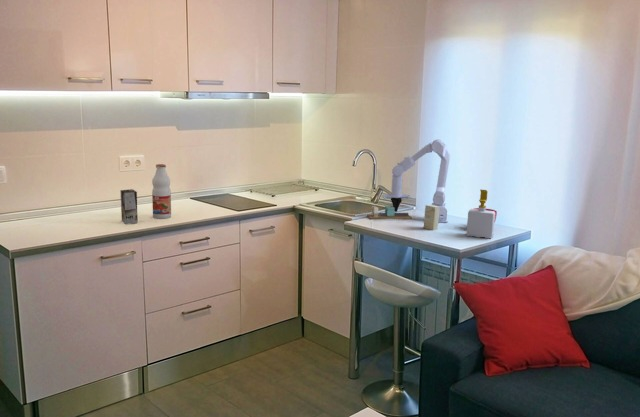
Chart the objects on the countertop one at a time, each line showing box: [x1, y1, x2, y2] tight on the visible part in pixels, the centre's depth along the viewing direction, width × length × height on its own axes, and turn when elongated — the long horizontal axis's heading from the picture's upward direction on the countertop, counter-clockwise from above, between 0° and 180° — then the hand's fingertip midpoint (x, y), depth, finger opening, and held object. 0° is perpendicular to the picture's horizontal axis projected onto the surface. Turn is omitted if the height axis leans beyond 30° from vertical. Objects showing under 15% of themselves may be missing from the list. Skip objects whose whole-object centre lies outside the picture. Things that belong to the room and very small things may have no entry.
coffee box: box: [120, 188, 139, 225], centre depth 295 cm, size 9×6×16 cm
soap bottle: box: [465, 189, 496, 239], centre depth 286 cm, size 12×7×23 cm, turn 66°
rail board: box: [366, 205, 413, 220], centre depth 325 cm, size 9×24×6 cm, turn 100°
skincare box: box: [423, 204, 440, 231], centre depth 300 cm, size 6×4×12 cm
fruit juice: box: [151, 163, 172, 220], centre depth 307 cm, size 9×9×28 cm
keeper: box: [384, 205, 396, 216], centre depth 325 cm, size 5×4×5 cm
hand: (395, 211), depth 326 cm, fingers closed
